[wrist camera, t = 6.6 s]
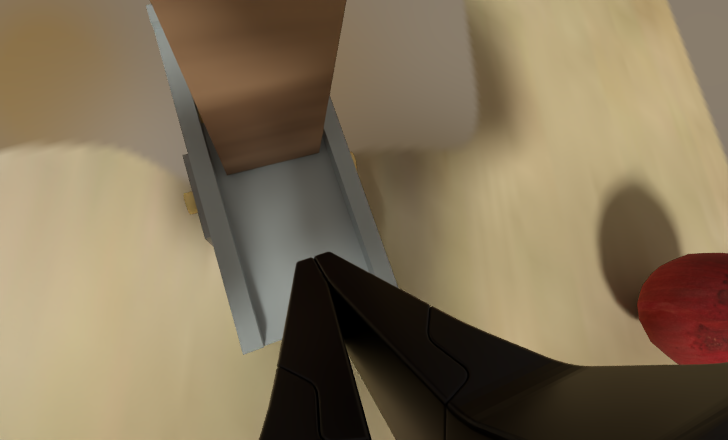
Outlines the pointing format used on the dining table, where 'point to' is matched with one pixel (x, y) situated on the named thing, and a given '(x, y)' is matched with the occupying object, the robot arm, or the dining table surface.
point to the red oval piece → (688, 308)
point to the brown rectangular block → (256, 72)
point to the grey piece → (272, 214)
